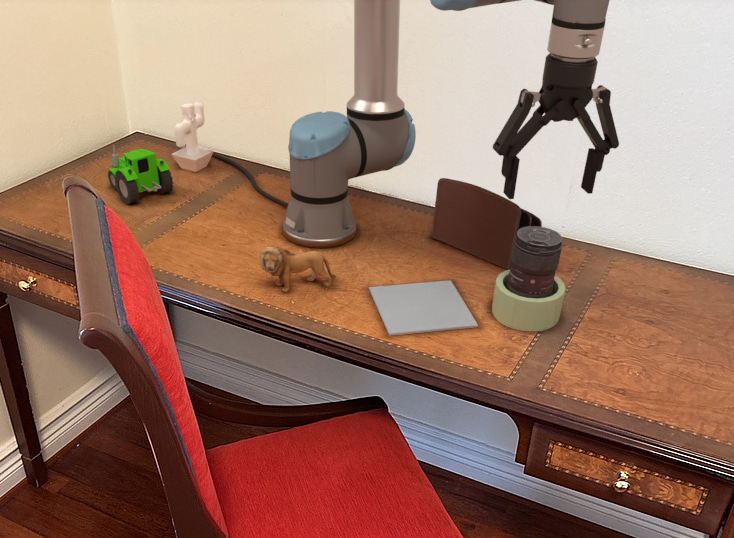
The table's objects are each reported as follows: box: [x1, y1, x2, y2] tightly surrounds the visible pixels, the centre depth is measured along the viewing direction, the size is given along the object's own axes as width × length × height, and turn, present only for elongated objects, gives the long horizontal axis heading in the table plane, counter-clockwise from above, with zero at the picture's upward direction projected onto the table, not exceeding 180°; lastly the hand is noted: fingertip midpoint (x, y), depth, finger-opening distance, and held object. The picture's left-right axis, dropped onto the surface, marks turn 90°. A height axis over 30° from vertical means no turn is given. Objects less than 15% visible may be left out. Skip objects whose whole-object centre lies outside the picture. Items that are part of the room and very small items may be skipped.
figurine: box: [170, 101, 215, 173], centre depth 188 cm, size 7×9×15 cm
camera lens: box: [506, 226, 563, 299], centre depth 139 cm, size 8×8×15 cm
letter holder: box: [430, 177, 543, 271], centre depth 160 cm, size 10×20×14 cm, turn 47°
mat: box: [368, 279, 479, 337], centre depth 144 cm, size 16×16×1 cm
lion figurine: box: [259, 245, 337, 293], centre depth 147 cm, size 15×5×9 cm, turn 113°
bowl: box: [491, 269, 567, 332], centre depth 142 cm, size 12×12×6 cm
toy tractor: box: [107, 143, 174, 205], centre depth 178 cm, size 11×16×10 cm
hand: (547, 193), depth 130 cm, fingers open, 13 cm apart
